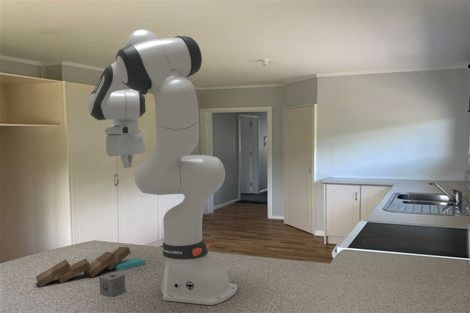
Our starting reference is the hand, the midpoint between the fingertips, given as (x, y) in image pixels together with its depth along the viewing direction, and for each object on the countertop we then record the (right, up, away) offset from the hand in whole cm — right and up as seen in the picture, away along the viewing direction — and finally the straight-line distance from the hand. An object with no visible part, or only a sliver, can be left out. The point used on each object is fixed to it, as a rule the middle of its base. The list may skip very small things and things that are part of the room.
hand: (127, 167), depth 148 cm
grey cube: (+3, -36, -29) cm, 46 cm away
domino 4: (-5, -34, -10) cm, 35 cm away
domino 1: (-23, -35, -21) cm, 47 cm away
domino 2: (-18, -35, -18) cm, 43 cm away
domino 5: (-2, -34, -8) cm, 35 cm away
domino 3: (-9, -34, -15) cm, 38 cm away
